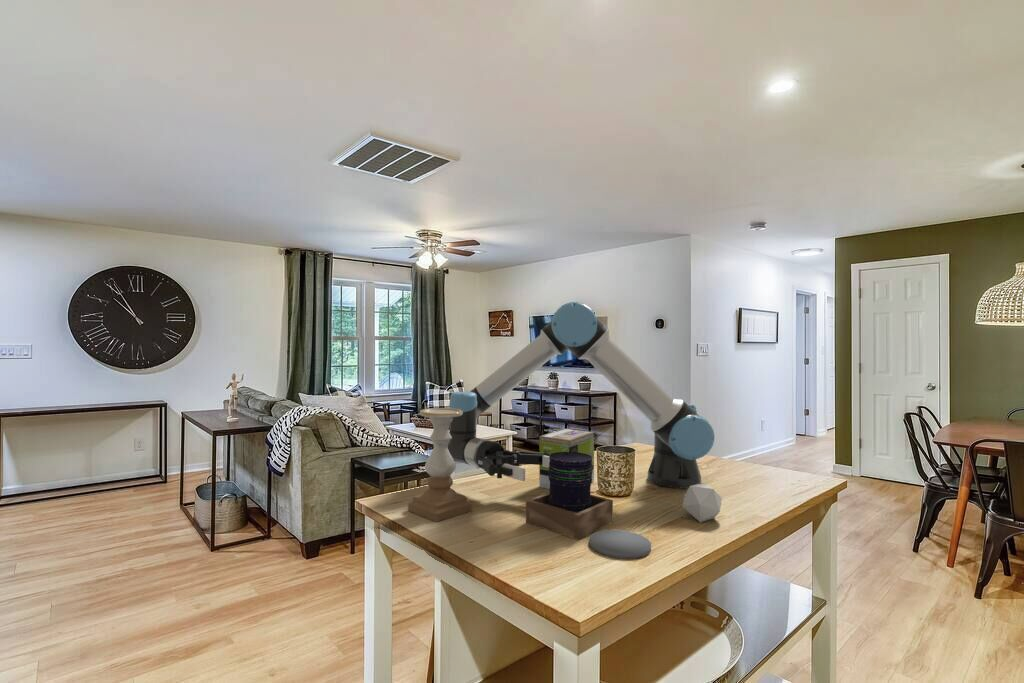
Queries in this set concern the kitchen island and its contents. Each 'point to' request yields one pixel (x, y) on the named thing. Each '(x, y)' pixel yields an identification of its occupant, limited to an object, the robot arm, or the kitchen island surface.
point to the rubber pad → (620, 544)
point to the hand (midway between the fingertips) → (544, 470)
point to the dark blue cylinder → (570, 481)
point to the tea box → (565, 448)
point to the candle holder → (440, 472)
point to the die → (702, 502)
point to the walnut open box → (569, 516)
